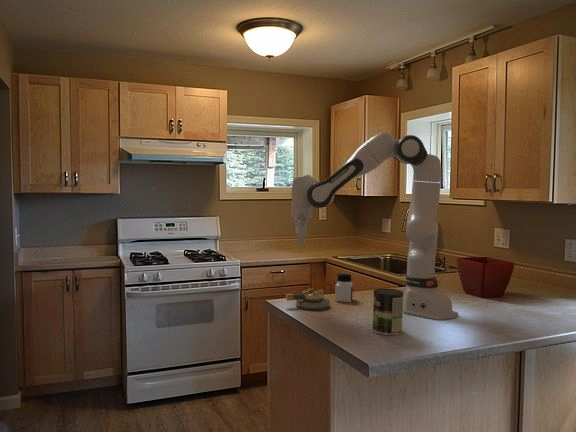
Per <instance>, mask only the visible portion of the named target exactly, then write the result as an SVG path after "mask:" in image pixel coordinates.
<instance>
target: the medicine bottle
mask: <svg viewBox="0 0 576 432" xmlns="http://www.w3.org/2000/svg"><path fill="white" fill-rule="evenodd" d="M336 280H337V281H336V282H337V283H336V284H335V285H334V301H335V302H341V303H352V300H353V293H354V292H353V291H354V290H353V287H354V286H353V285H354V284H353V282H352V274H351V273H348V272H340V273H337V279H336Z"/></svg>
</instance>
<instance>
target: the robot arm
mask: <svg viewBox="0 0 576 432" xmlns="http://www.w3.org/2000/svg"><path fill="white" fill-rule="evenodd" d="M390 158H393V159H395V160H396V161H398V162H399V163H401V164H405V165H410V166H411V167H412V170H413V171H412V172H413V173H412V174H413V175H412V184H411V185H412V187H411V197H410V203H409V209H408V213H407V218H406V226H405V234H406V237H407V238H408V239H409V246H408V253H407V259H406V260H407V261H406V262H407V263H406V265H407V266H406V275H405V283H404V284H405V295H404V298H403V311H402V314H408V315H410V316H411V315H412V316H416V317H422V318H425V319H426V318H427V319H432V320H437V321H441V320H443V321H446V320H450V319H455V318H457V317H458V316H459V312H458V311H454V310H453V303H452V300H451V299H450V297H449V296H448V295H447V294H446V293H445V292H444V291H442V289H441V288H439V284H440V283H441V279H438V280H437V277H435V276H436V255H437V249H438V248H437V247H438V238H439V225H438V222H437V215H438V209H439V205H440V204H439V203H440V198H441V197H440V196H441V187H442V185H441V184H442V164H441V163H442V162H441V159H440V158H439V157H438V156H436V155H435V154H432V153H431V154H430V153H428V151H427V148H426V147H425V145H424V143H423V141H422V140H421V139H420V138H419V137H418V136H416V135H413V134H408V135H405V136H402V137H401V138H399V139H397V138H395V137H394V136H393V135H392V134H391V133H389V132H387V131H381V132H379V133H377V134H375V135H373V136H372V137H371V138H369V139H368V140H366V141H364V143H362V144H361V145H360V146H359V147H357V149H356V150H355V151H354V152H353V153H352V154H351V155H350V157H349V158H348V159H347V161H346V162H345V163H344V164H343V165H342V166H341V167H340V168H339V169H338V170H336V171H335V172H334V173H332V174H331V175H330V176H328V177H327V178H326V179H324V180H322V181H320V180H319V179H316V178H314V177H313V176H311V175H310V174H304V175H298V176H296V177H294V178H293V180H292V183H291V184H292V185H291V201H292V203H291V206H290V211H291V212H290V213H291V214H290V217H291V218H293V221H294V223H295V225H294V226H295V233H296V236H297V237H298V246H299V247H304V244H305V243H304V241H305V238H307V236H308V222H310V219H311V218H313V207H314V208H316V209H323V208H325V207H327V206H328V205H330V204H332V202H333V201H334V199H335V194H336V193H337V192H338V191H339V190H341V188H343V187H344V186H345V185H346V184H348V183H349V182H350V181H352V180H353V179H355V178H357V177H360V176H363V175H366V174H368V173H371V172H372V171H373V170H375V169H377V168H378V167H379V166H381V165H382V164H383V163H385V161H387V160H388V159H390Z"/></svg>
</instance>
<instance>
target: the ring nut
mask: <svg viewBox="0 0 576 432" xmlns="http://www.w3.org/2000/svg"><path fill="white" fill-rule="evenodd" d="M324 298H325V292H324V290H323V289H318V290H317V291H314V288H307V290H302V293H285V300H286V301H287V302H288V301H289V302H290V301H296V300H300V299H302V300H304V301H308V302H320V301H323V300H324Z"/></svg>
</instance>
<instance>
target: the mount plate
mask: <svg viewBox="0 0 576 432" xmlns="http://www.w3.org/2000/svg"><path fill="white" fill-rule="evenodd" d="M295 301H296V302H295V303H296V305H295V306H296V308H297V309H301V310H305V311H323V310H324V311H325V310H328V309H330V305H331V301H330V299H328V298H326V297H324V300H323V301H320V302H308V301H304V300H302V299H300V300H295Z"/></svg>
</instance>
